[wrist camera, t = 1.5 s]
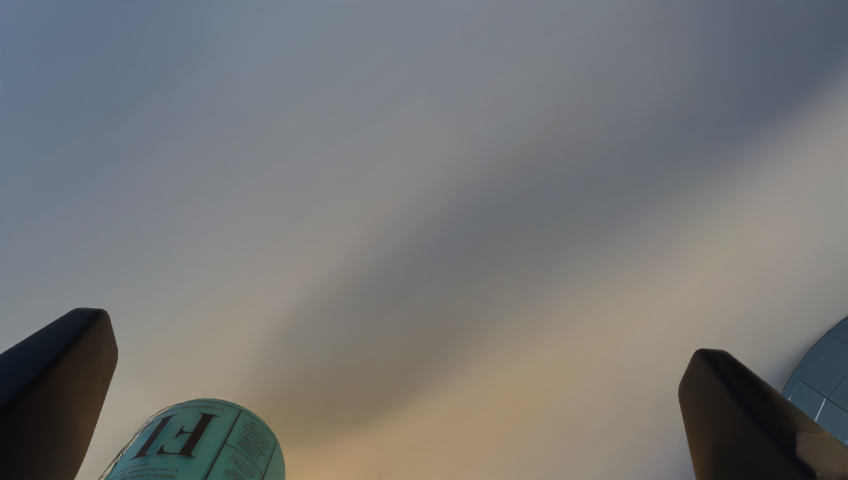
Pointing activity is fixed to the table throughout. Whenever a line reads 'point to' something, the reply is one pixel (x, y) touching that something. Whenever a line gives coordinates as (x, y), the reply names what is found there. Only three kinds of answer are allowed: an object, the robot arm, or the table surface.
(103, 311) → the robot arm
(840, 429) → the dish
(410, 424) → the table surface
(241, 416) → the beverage bottle
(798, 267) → the table surface
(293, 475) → the table surface
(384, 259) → the table surface
